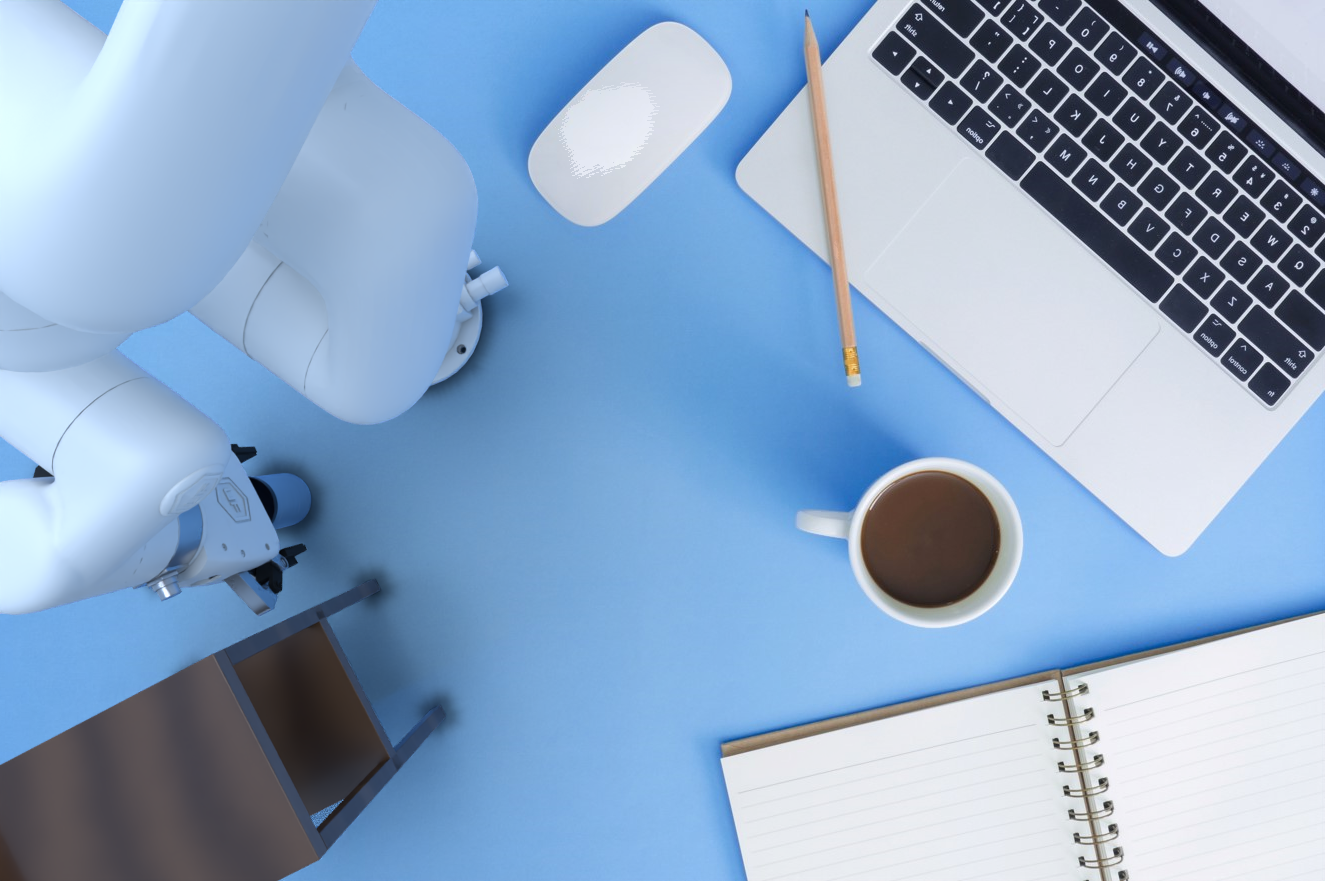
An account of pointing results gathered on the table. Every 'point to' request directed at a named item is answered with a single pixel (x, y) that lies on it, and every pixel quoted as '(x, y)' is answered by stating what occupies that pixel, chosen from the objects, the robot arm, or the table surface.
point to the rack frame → (322, 713)
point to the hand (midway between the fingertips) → (266, 506)
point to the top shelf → (158, 792)
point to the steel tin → (283, 498)
